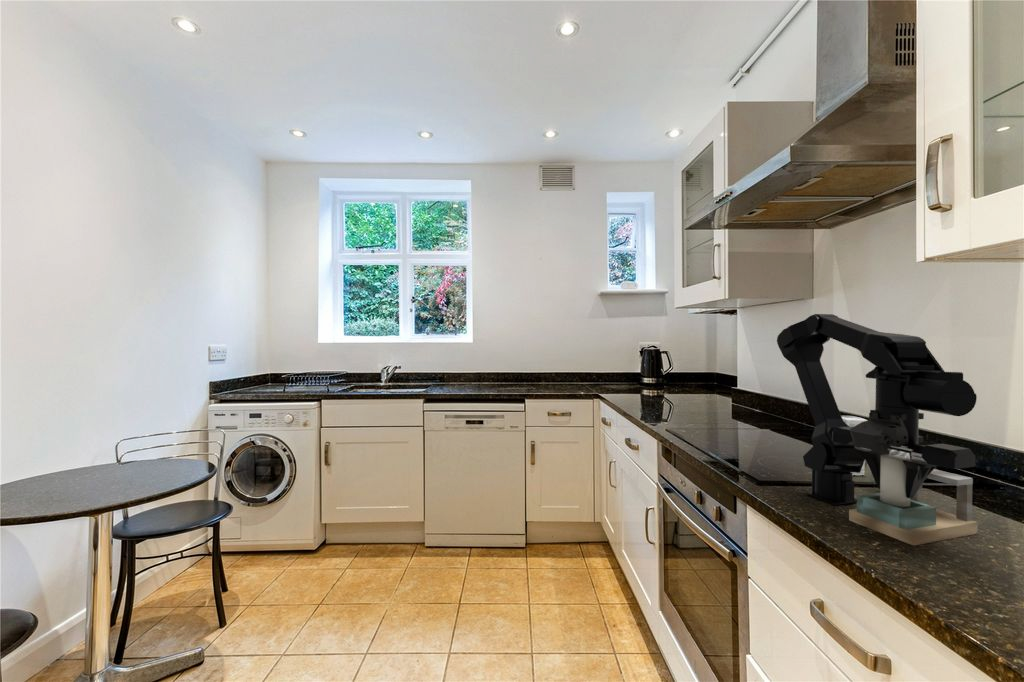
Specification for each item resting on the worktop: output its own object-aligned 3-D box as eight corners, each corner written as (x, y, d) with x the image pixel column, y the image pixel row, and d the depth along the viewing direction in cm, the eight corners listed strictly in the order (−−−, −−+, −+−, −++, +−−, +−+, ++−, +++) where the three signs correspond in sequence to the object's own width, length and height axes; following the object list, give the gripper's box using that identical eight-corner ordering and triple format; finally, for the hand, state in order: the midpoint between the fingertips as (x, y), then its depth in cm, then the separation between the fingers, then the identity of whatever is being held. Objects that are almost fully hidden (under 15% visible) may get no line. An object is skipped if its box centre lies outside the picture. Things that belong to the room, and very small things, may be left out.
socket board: (849, 520, 78) (849, 469, 78) (909, 511, 83) (909, 463, 83) (913, 545, 69) (914, 487, 69) (977, 533, 73) (978, 479, 73)
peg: (874, 499, 76) (875, 455, 76) (889, 497, 77) (890, 454, 77) (900, 507, 72) (901, 461, 72) (915, 505, 73) (916, 460, 73)
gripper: (811, 399, 81) (810, 480, 81) (932, 417, 63) (930, 520, 63) (852, 398, 84) (851, 475, 85) (978, 414, 67) (976, 512, 67)
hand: (895, 493), depth 75 cm, fingers closed on peg, 4 cm apart
